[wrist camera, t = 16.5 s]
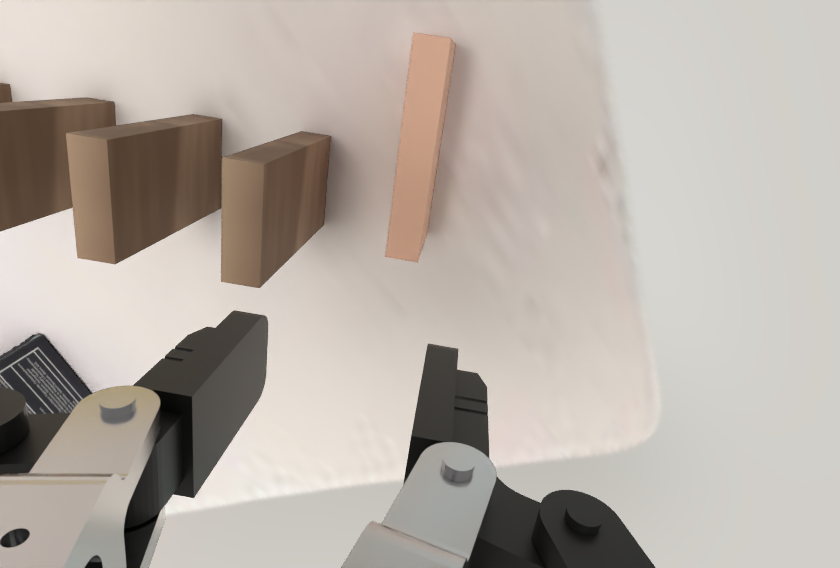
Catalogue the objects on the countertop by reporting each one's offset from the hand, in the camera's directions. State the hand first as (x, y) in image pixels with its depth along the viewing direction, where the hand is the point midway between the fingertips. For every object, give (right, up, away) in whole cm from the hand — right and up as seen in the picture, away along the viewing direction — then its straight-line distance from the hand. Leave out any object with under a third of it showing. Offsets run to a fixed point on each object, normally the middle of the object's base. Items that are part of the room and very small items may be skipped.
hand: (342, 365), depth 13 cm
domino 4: (+1, +4, +16) cm, 17 cm away
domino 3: (-4, +8, +18) cm, 20 cm away
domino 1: (-16, +10, +18) cm, 26 cm away
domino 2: (-10, +9, +18) cm, 22 cm away
